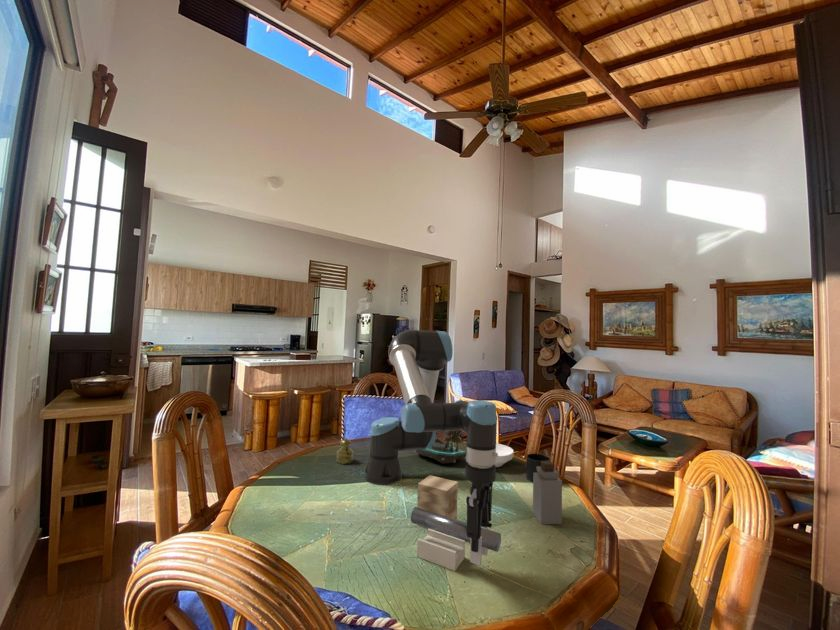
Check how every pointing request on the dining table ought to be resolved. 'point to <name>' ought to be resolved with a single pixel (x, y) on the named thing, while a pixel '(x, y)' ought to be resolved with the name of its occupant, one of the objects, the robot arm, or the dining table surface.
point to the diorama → (445, 449)
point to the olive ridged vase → (345, 452)
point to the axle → (453, 528)
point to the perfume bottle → (547, 494)
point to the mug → (534, 464)
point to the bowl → (503, 454)
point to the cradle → (441, 549)
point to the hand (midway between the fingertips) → (479, 558)
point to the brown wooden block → (438, 496)
